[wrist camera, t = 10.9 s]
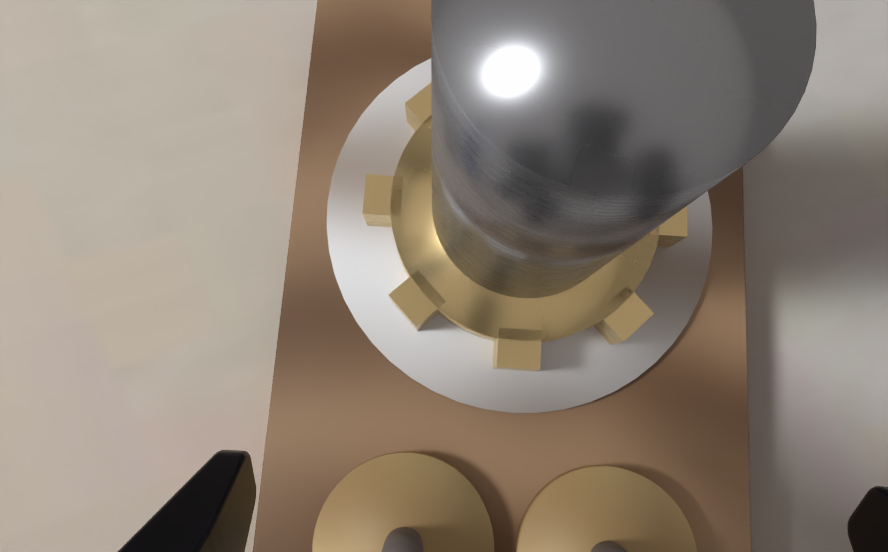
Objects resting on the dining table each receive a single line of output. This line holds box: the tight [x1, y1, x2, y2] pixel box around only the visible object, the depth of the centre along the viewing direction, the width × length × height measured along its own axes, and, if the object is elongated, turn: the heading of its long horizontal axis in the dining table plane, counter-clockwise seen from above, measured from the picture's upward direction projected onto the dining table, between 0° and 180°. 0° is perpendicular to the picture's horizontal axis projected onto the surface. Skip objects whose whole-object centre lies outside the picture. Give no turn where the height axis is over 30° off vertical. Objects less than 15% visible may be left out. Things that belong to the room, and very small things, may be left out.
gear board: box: [253, 0, 751, 552], centre depth 17 cm, size 22×13×3 cm, turn 176°
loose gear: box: [362, 0, 816, 372], centre depth 13 cm, size 9×9×10 cm
